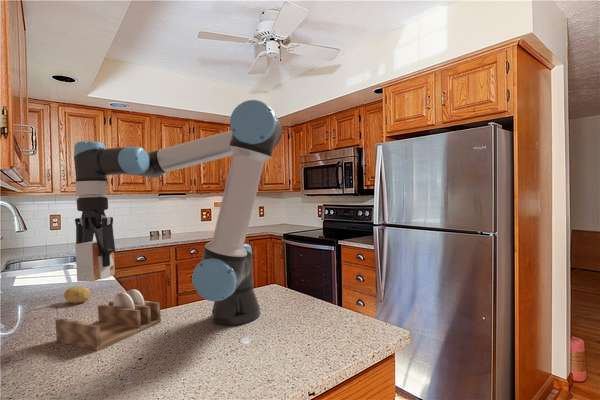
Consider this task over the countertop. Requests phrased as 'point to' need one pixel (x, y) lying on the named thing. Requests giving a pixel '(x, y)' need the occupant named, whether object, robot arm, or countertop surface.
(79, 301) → the potato
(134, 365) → the countertop surface
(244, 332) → the countertop surface
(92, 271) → the small box
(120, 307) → the rack
